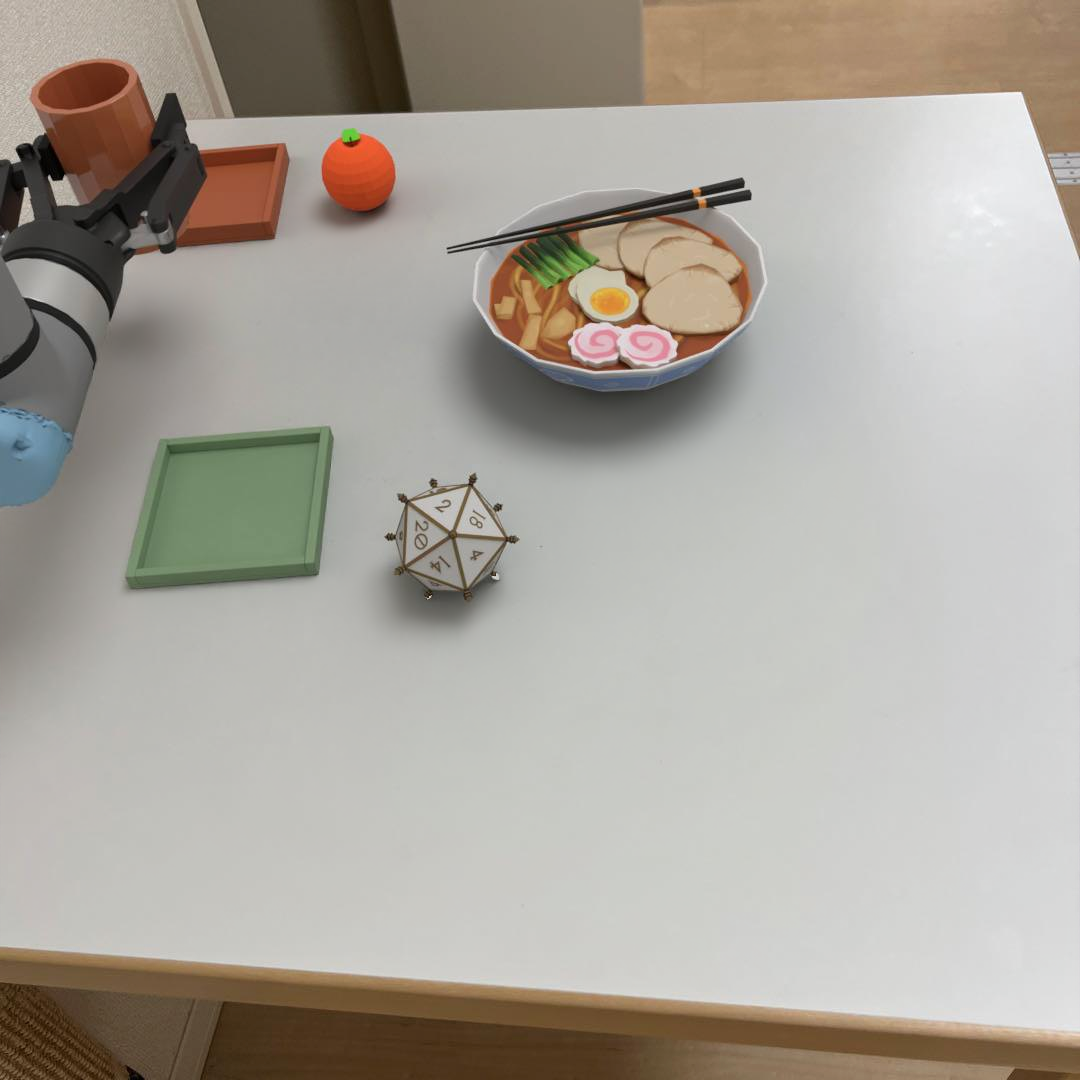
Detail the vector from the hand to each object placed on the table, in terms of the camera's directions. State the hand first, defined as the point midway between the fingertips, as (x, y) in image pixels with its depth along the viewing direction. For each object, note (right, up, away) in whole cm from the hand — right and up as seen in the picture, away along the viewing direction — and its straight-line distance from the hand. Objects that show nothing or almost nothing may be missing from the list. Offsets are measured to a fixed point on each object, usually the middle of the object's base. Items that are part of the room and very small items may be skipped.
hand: (123, 114), depth 84 cm
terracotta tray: (+1, 0, +22) cm, 22 cm away
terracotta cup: (+1, -8, +3) cm, 8 cm away
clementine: (+16, -1, +20) cm, 26 cm away
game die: (+27, -36, -9) cm, 46 cm away
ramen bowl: (+39, -17, +5) cm, 43 cm away
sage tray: (+10, -31, -4) cm, 33 cm away
